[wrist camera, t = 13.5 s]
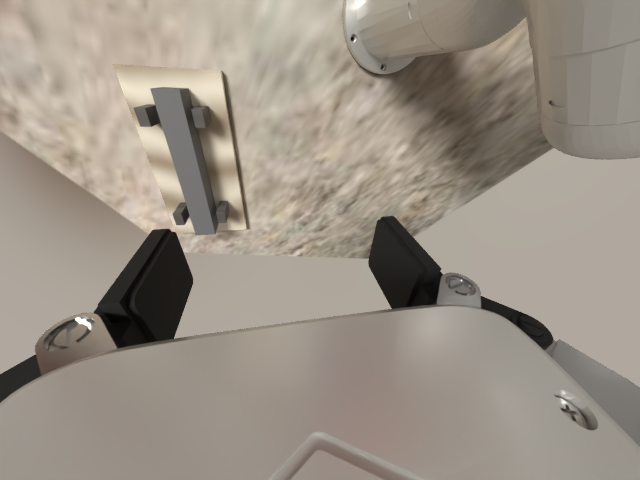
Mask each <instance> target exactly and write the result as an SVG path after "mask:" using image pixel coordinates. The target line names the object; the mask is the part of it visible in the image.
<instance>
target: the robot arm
mask: <svg viewBox="0 0 640 480" xmlns="http://www.w3.org/2000/svg"><path fill="white" fill-rule="evenodd" d="M525 17H526V19H527V25H528V32H529V42H530V47H531V49H532V55H533V65H534V75H535V85H536V96H537V106H538V114H539V120H540V125H541V129H542V132H543V134H544V136H545V138H546V140H547V141H548V142H549V143H550V144H551V145H552V146H553V147H554V148H556V149H557V150H559V151H561V152H563V153H566V154H568V155H571V156H576V157H582V158H589V159H627V158H638V157H640V0H344V3H343V29H344V34H345V39H346V42H347V45H348V48H349V50H350V52H351V54H352V56H353V57H354V59H355V60H356V61H357V62H358V63H359V65H360V66H362V67H363V68H364V69H366V70H367V71H370V72H372V73H376V74H390V73H394V72H397V71H399V70H401V69H403V68H405V67H406V66H407V65H409V64H410V63H411V62H412V61H413V60H414V59H415V58H416V57H419V56H427V55H435V54H443V53H451V52H459V51H466V50H472V49H476V48H480V47H483V46H485V45H488V44H490V43H492V42H494V41H496V40H497V39H499V38H500V37H502V36H503V35H505V34H506V33H508V32H509V31H511V30H512V29H513V28H514V27H516V26H517V25H518V24H519V23H520V22H521V21H522V20H523V19H524V18H525ZM351 37H353V39H354V40H353V42H352V41H351ZM381 65H382V69H381ZM369 267H370V269H371V271H372V273H373V275H374V276H375V278H376V280H377V282H378V284H379V286H380V288H381V290H382V291H383V293H384V295H385V297H386V299H387V301H388V303H389V304H390V306H391V308H392V309H388V310H381V311H374V312H373V311H372V312H365V313H357V314H350V315H342V316H334V317H327V318H319V319H311V320H305V321H297V322H290V323H282V324H275V325H267V326H260V327H253V328H246V329H238V330H231V331H224V332H217V333H210V334H203V335H196V336H190V337H183V338H177V339H174V336H175V333H176V330H177V327H178V325H179V322H180V319H181V316H182V313H183V310H184V308H185V305H186V302H187V299H188V296H189V293H190V291H191V288H192V285H193V277H192V274H191V271H190V269H189V266H188V264H187V261H186V258H185V255H184V253H183V250H182V248H181V245H180V242H179V240H178V237H177V234H176V233H175V232H171V230H170V229H158V230H152V231H151V233H150V234H149V236H148V237H147V238H146V240H145V241H144V242H143V244H142V245H141V247H140V248H139V249H138V251H137V252H136V253H135V255H134V256H133V257H132V259H131V260H130V261H129V263H128V264H127V266H126V267H125V268H124V270H123V271H122V272H121V274H120V275H119V276H118V278H117V279H116V281H115V282H114V283H113V285H112V286H111V287H110V289H109V290H108V291H107V293H106V294H105V296H104V297H103V298H102V300H101V301H100V302H99V304H98V307H97V309H96V310H95V311H94V313H81V314H78V315H74V316H71V317H69V318H66V319H64V320H62V321H60V322H58V323H57V324H55V325H54V326H53V327H51V328H50V329H48V330H47V331H46V332H45V333H44V334H43V335H42V336H41V337H40V338H39V340H38V341H37V343H36V345H35V353H36V355H34V356H32V357H30V358H29V359H27V360H25V361H23V362H21V363H20V364H18V365H16V366H14V367H13V368H11V369H9V370H7V371H5V372H4V373H2V374H0V480H640V387H638V386H637V385H635V384H634V383H632V382H631V381H629V380H628V379H626V378H624V377H623V376H621V375H619V374H618V373H616V372H614V371H612V370H611V369H609V368H607V367H606V366H604V365H602V364H601V363H599V362H597V361H596V360H594V359H592V358H590V357H589V356H587V355H585V354H584V353H582V352H580V351H578V350H577V349H575V348H573V347H572V346H570V345H568V344H567V343H565V342H563V341H561V340H558V341H557V342H556V341H554V340H553V337H552V335H551V333H550V331H549V330H548V329H547V328H546V327H545V326H544V325H543V324H542V323H540V322H539V321H538V320H536V319H534V318H533V317H530V316H528V315H526V314H524V313H521V312H519V311H517V310H514V309H512V308H509V307H507V306H504V305H502V304H499V303H497V302H494V301H492V300H490V299H487V298H485V297H482V296H481V292H480V289H479V287H478V286H477V284H475V282H473V281H472V280H471V279H469V278H467V277H466V276H463V275H461V274H456V273H447V274H444V275H443V274H442V273H441V272H440V270H441V268H440V267H439V266H438V265H437V263H436V262H435V261H434V260H433V259H432V258H431V257H430V256H429V255H428V253H427V252H426V251H425V250H424V249H423V248H422V247H421V246H420V245H419V243H418V242H417V241H416V240H415V239H414V238H413V237H412V236H411V235H410V234H409V232H408V231H407V230H406V229H405V228H404V227H403V226H402V225H401V224H400V223H399V221H398V220H397V219H396V218H395V217H394V216H388V217H381V219H380V220H378V221H377V225H376V229H375V234H374V238H373V243H372V247H371V252H370V256H369Z"/></svg>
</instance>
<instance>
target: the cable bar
mask: <svg viewBox="0 0 640 480" xmlns="http://www.w3.org/2000/svg"><path fill="white" fill-rule="evenodd" d="M150 90H151V93H152V96H153V99H154V103H155V106H156V109H157V112H158V115H159V119H160V122H161V125H162V128H163V131H164V135H165V138H166V141H167V144H168V148H169V151H170V154H171V157H172V160H173V164H174V167H175V170H176V173H177V176H178V180H179V183H180V186H181V189H182V193H183V196H184V199H185V202H186V205H187V209H188V212H189V215H190V218H191V222H192V225H193V228H194V231H195V234H196V235H209V234H216V231H217V227H218V224H219V222H218V218H217V214H216V211H217V210H216V205H215V201H214V197H213V192H212V188H211V184H210V179H209V175H208V171H207V166H206V162H205V158H204V153H203V149H202V145H201V140H200V136H199V132H198V128H196V127H195V123H194V119H193V115H192V111H191V109H193V106H192V101H191V97H190V93H189V88H172V87H159V88H150Z"/></svg>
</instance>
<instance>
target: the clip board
mask: <svg viewBox="0 0 640 480" xmlns="http://www.w3.org/2000/svg"><path fill="white" fill-rule="evenodd" d="M113 67H114V69H115V72H116V75H117V77H118V80H119V82H120V85H121V88H122V90H123V93H124V96H125V98H126V101H127V104H128V106H129V109H130V112H131V114H132V117H133V120H134V122H135V125H136V128H137V130H138V133H139V136H140V138H141V141H142V144H143V146H144V149H145V151H146V154H147V157H148V159H149V162H150V165H151V167H152V170H153V173H154V175H155V178H156V181H157V183H158V186H159V189H160V191H161V194H162V197H163V199H164V202H165V205H166V207H167V210H168V213H169V215H170V218H171V220H172V223H173V226H174V228H175V231H176V234H179V233H195V231H194V228H193V225H192V222H191V218H190V215H189V212H188V209H187V205H186V202H185V199H184V196H183V193H182V189H181V186H180V183H179V180H178V176H177V173H176V170H175V167H174V164H173V160H172V157H171V154H170V151H169V148H168V144H167V141H166V138H165V135H164V131H163V128H162V125H161V122H160V119H159V115H158V112H157V109H156V106H155V103H154V99H153V96H152V93H151V90H150V88H159V87H172V88H189V93H190V97H191V101H192V106H193V109H191V111H192V115H193V119H194V123H195V127H196V128H198V132H199V136H200V140H201V145H202V149H203V153H204V158H205V162H206V166H207V171H208V175H209V179H210V184H211V188H212V192H213V197H214V201H215V205H216V210H217V211H216V214H217V218H218V222H219V224H218V227H217V231H228V230H245V229H247V224H246V218H245V212H244V205H243V199H242V193H241V187H240V181H239V174H238V168H237V162H236V156H235V150H234V143H233V137H232V131H231V125H230V119H229V112H228V106H227V100H226V94H225V87H224V81H223V75H222V71H218V70H201V69H184V68H167V67H150V66H133V65H115V64H113Z"/></svg>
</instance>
